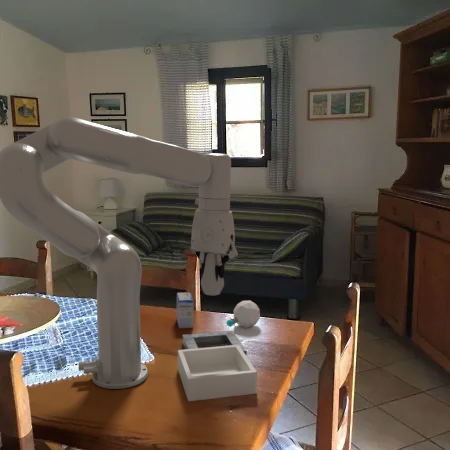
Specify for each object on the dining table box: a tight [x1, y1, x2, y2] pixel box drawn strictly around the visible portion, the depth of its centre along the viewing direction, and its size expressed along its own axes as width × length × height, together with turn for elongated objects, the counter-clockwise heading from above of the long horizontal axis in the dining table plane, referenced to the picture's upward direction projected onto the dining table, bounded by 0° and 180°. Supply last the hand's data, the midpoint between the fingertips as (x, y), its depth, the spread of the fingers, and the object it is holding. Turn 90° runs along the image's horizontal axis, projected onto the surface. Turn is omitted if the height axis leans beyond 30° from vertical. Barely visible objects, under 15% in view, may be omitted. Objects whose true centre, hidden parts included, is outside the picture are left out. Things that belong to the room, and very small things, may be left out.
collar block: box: [182, 330, 248, 357], centre depth 127 cm, size 14×14×2 cm
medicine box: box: [176, 292, 195, 329], centre depth 146 cm, size 8×4×9 cm, turn 10°
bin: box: [177, 345, 258, 402], centre depth 110 cm, size 15×15×5 cm
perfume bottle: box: [226, 299, 261, 329], centre depth 143 cm, size 8×8×12 cm
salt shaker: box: [200, 252, 225, 297], centre depth 119 cm, size 6×6×13 cm
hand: (212, 278), depth 120 cm, fingers closed on salt shaker, 3 cm apart
